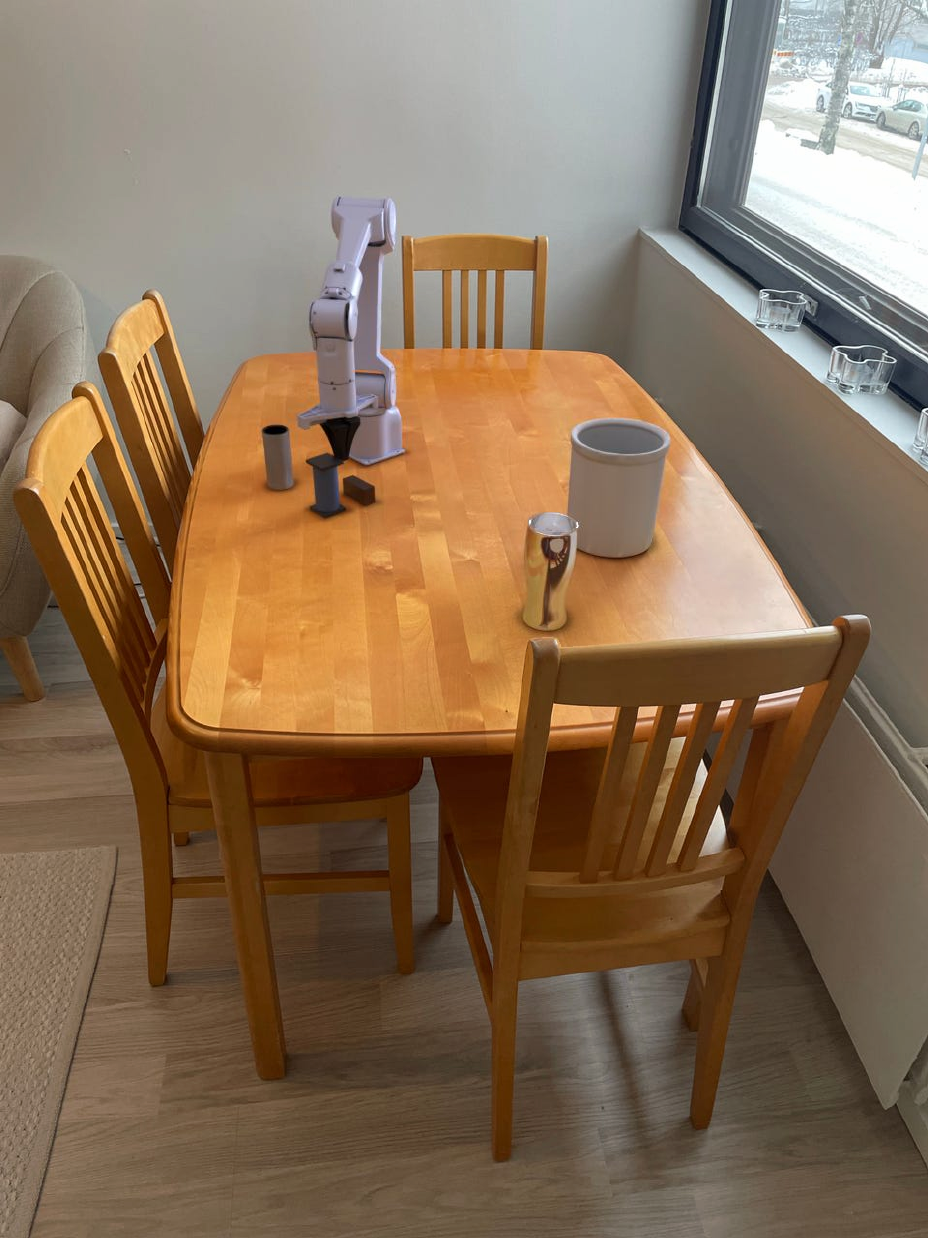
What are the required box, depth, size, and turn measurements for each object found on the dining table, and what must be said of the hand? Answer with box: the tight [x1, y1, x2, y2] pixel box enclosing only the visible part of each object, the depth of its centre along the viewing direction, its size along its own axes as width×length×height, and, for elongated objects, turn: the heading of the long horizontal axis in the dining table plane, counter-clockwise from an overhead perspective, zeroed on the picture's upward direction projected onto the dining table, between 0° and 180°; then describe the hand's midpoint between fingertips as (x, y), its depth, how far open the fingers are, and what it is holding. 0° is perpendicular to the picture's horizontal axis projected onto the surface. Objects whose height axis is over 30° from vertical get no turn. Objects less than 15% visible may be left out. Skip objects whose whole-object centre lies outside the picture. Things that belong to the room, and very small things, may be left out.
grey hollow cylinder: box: [261, 424, 295, 491], centre depth 157 cm, size 4×4×10 cm
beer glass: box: [522, 511, 578, 632], centre depth 123 cm, size 7×7×15 cm
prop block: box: [342, 474, 376, 507], centre depth 155 cm, size 2×6×3 cm, turn 44°
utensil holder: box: [566, 417, 671, 559], centre depth 142 cm, size 15×15×18 cm
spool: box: [305, 452, 347, 519], centre depth 150 cm, size 10×4×9 cm
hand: (341, 459), depth 150 cm, fingers closed
